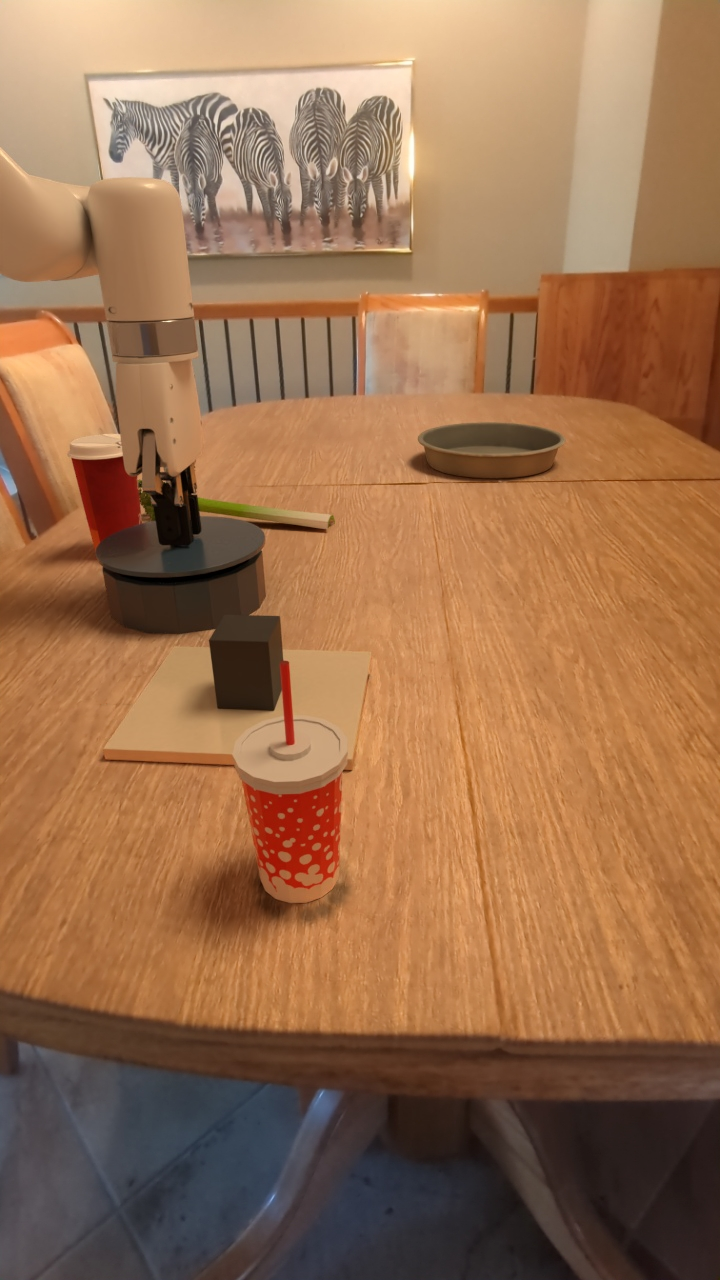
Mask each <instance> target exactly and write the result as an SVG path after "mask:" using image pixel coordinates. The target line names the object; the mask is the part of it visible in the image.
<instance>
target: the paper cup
mask: <svg viewBox="0 0 720 1280" xmlns="http://www.w3.org/2000/svg"><path fill="white" fill-rule="evenodd" d="M66 454H67V457H69V458H70V459H71V463H72V466H73V471H74V475H75V478H76V482H77V486H78V490H79V494H80V498H81V502H82V506H83V510H84V514H85V517H86V522H87V525H88V529H89V533H90V537H91V541H92V544H93V548H94V552H95V551H96V548H97V546H98V545H99V544H100V543H101V542H102V541H103V540H104V539H105V538H107V537H109V536H110V535H112V534H114V533H116V532H118V531H121V530H123V529H126V528H129V527H132V526H135V525H139V524H143V521H142V519H143V518H142V510H141V509H142V507H141V504H140V498H139V489H140V488H138V480H139V478H138V476H135V477H132V476H130V475H128V474H127V473H126V471H125V467H124V461H123V453H122V445H121V437H120V433H102V434H100V433H99V434H92V435H85V436H81V437H78V438H75V439H73V440H71V441H70V443H69V450H68V451H67V453H66Z"/></svg>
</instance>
